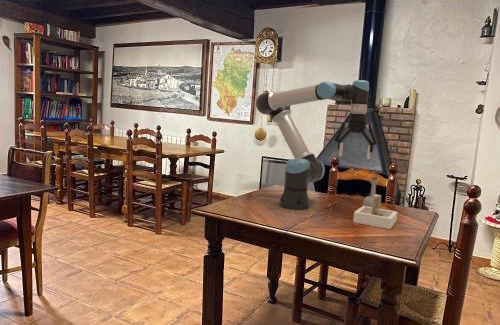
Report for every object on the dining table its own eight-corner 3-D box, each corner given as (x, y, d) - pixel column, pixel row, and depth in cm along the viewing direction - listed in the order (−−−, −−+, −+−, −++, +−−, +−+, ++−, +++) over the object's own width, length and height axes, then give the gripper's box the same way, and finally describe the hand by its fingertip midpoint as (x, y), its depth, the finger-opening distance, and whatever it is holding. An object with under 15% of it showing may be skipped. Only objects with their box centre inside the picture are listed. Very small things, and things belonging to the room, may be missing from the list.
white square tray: (353, 222, 164) (354, 212, 163) (362, 214, 177) (362, 205, 177) (390, 229, 156) (391, 219, 156) (396, 221, 169) (397, 211, 169)
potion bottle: (381, 214, 181) (385, 177, 179) (362, 212, 183) (366, 176, 180) (379, 210, 189) (382, 175, 187) (361, 208, 191) (364, 173, 189)
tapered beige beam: (371, 219, 165) (373, 195, 164) (373, 218, 169) (375, 194, 167) (377, 221, 164) (379, 196, 163) (378, 219, 168) (381, 195, 166)
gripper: (330, 111, 180) (326, 155, 183) (383, 114, 168) (378, 160, 171) (335, 112, 187) (331, 154, 190) (387, 115, 174) (382, 159, 177)
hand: (354, 157), depth 180 cm, fingers open, 13 cm apart
